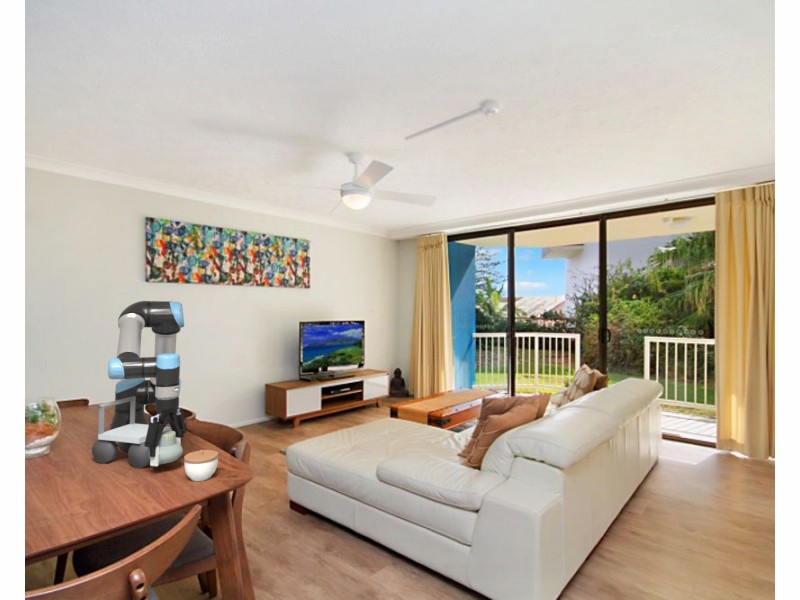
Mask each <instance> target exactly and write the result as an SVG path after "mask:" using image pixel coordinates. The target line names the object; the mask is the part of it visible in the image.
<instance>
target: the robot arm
mask: <svg viewBox="0 0 800 600" xmlns="http://www.w3.org/2000/svg"><path fill="white" fill-rule="evenodd" d="M183 309H184V308H183V304H182V303H181V302H180V301H172V300H170V301H167V300H166V301H165V300H164V301H162V300H141V301H137V302H134V303H132V304H130V305H128V306H127V307H126V308H125V309H123V310H122V312H121V313H120V314H119V316H118V319H117V327H118V328H119V335H118V344H117V350H116V351H117V352H116V357H115V358H110V359H109V360H108V367H107V369H108V370H107V374H108V378H109V380H120V381H118V382H117V383H116V384H115V391H114V401H116V400H120V399H124V398H129V397H133V396H135V397H136V400H135V423H136V424H146V425H149V426H148V431H147V435H146V440H145V444H144V446H145V447H149V448H150V454H149V456H150V464H149V465H150V467H158V466H159V465H160V464H159V447H158V446H157V445H158V442H159V439H160V437H161V434H162V432H163V429H164V428H165V427H166V426H167V425H168V424H169V427H171V429H172V431H174V432H176V443H178V444H180V445H181V446H182V438H184V437H185V434H187V429H186V424H185V419H184V408H180V393H181V383H182V381H181V378H180V372H181V356H180V354H179V353H176V352H177V351H176V350H177V334H178V333H180V331H181V329H182V328H184V327H185V320H184V319H185V317H184V310H183ZM144 328H151V332H153V334H155V335H154V356H152V357H151V356H147V357H143V356H141V347H142V345H141V344H142V330H143V329H144ZM146 378H147V379H146ZM148 378H149V379H148ZM148 405H154V409H155V411H156V414H155V415H154V416H149V417H148V420H147V416H146V413H145V406H148ZM128 424H130V401H129V402H125V403H121V404H117V405H114V415H113V418H112V420H111V423H110V425H109V430H112V429H115V428H119V427H122V426H125V425H128ZM153 443H154V444H153Z"/></svg>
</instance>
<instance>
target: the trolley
mask: <svg viewBox="0 0 800 600" xmlns="http://www.w3.org/2000/svg"><path fill="white" fill-rule="evenodd" d="M135 400H136V397H135V396H133V397H129V398H124V399H120V400H116V401H115V400H113V401H108V402H105V403H100V404H99V405H98V430H97V431H98V432H97V434H98V436H97V439H96V440H95V441H94V443H93V444H92V447H91V454H92V457H93V459H94V460H95V461H96V462H97V463H99V464H103V465H104V464H107V463H109V462H110V463H111V462H112V461H113V460H115V459H116V457H117V455H118V451H119V450H120V451H121V453H124V454H126V455H127V457H128V462H129V464H130V465H132V467H133V468H137V469H142V468H145V467H146V466H149V465H150V458H149V451H150V448H149V447H145V446H144V444H145V440H146V435H147V431H148V426H149V424H148V425H146V424H136V423H135ZM129 401H130V424H128V425H125V426H122V427H119V428H115V429H112V430H110V429H109V430H106V431H105V408H110V407H113V406H115V405H117V404H121V403H125V402H129ZM163 431H171V427H170V426H167V425H166V427H165V428H164V429H163ZM153 444H154V443H153ZM118 448H119V449H118Z"/></svg>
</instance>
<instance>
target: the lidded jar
mask: <svg viewBox="0 0 800 600" xmlns="http://www.w3.org/2000/svg"><path fill="white" fill-rule="evenodd" d="M219 454H220V453H219V451H217V450H213V449H200V450H195V451H191V452H189V453H187V454H185V455H184V457H183V461H184V462H183V463H184V465H183V466H184V467H183V468H184V472H185V474H186V476H187V477H188V478H189V479H190V481H193V482H203V481H206V480H209V479H210V478H211V477H212V476H213V474H214V473H215V472H216V470H217V468H218V464H219Z"/></svg>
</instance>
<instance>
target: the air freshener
mask: <svg viewBox="0 0 800 600" xmlns="http://www.w3.org/2000/svg"><path fill="white" fill-rule="evenodd" d="M157 446H158V447H159V465H164V464H171V463H173V462H175V461H177V460H178V459H179V458H180V457H181V456H182V455H183V453H184V449H183V447H182V444H181V445H180V444H178V443H176V432H174V431H163V432H162V434H161V437H160V439H159V442H158V445H157ZM149 454H150V451H149ZM149 458H150V456H149Z"/></svg>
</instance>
